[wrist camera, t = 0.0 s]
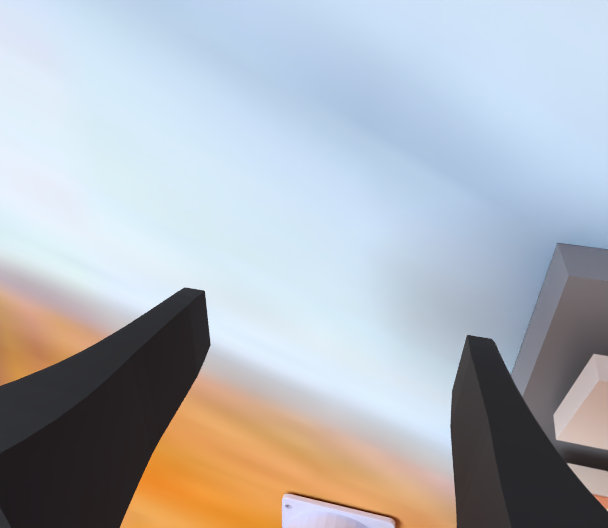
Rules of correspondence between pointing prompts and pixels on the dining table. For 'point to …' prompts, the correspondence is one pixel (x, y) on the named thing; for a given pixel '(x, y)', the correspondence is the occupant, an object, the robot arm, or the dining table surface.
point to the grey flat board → (565, 341)
